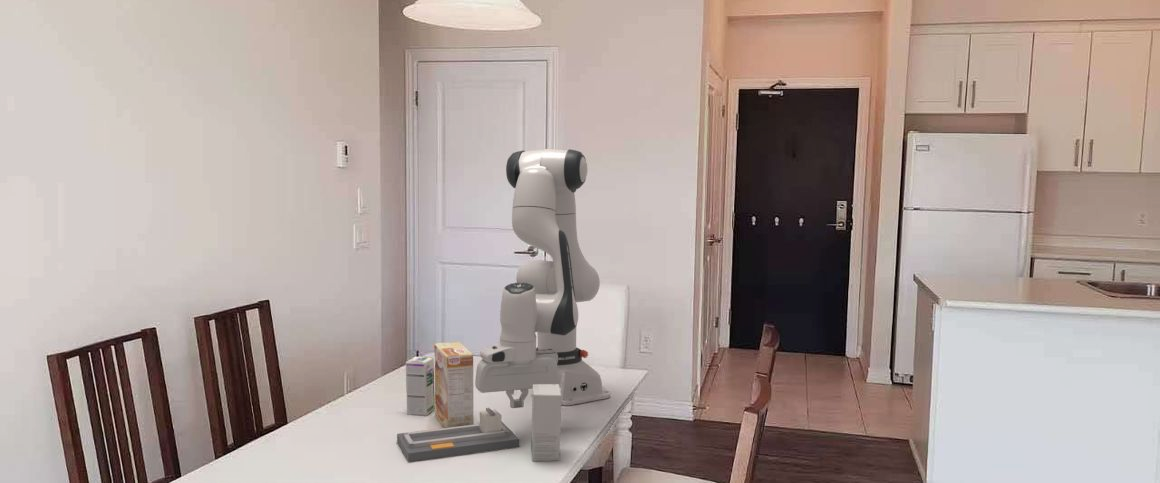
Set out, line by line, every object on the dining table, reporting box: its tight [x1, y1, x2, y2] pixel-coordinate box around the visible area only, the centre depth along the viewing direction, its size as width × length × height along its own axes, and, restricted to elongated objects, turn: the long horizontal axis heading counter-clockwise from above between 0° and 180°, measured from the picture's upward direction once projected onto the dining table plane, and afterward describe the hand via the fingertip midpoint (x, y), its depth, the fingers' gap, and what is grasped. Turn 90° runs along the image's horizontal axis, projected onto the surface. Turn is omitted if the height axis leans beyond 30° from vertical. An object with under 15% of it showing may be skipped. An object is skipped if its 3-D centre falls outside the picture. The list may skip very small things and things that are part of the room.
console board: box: [396, 421, 521, 463], centre depth 187 cm, size 26×14×3 cm, turn 113°
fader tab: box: [479, 407, 503, 433], centre depth 190 cm, size 4×5×5 cm
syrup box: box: [405, 356, 435, 417], centre depth 211 cm, size 6×6×14 cm
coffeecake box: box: [433, 341, 475, 428], centre depth 202 cm, size 15×7×20 cm, turn 22°
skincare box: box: [530, 384, 562, 462], centre depth 181 cm, size 8×7×16 cm
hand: (516, 407), depth 192 cm, fingers closed
